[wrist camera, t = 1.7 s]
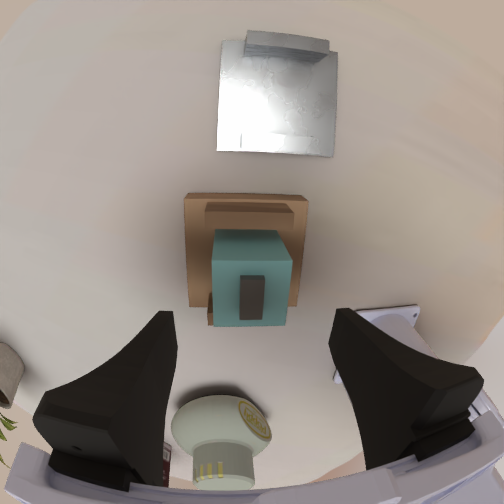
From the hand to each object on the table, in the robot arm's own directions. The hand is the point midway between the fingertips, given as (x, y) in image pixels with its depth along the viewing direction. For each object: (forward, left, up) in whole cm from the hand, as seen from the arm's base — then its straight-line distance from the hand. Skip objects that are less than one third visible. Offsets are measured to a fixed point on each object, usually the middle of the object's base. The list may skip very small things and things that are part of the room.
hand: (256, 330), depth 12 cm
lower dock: (+11, -2, -10) cm, 15 cm away
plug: (0, 0, -8) cm, 8 cm away
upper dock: (0, 0, -10) cm, 10 cm away
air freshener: (-20, +2, -10) cm, 23 cm away
